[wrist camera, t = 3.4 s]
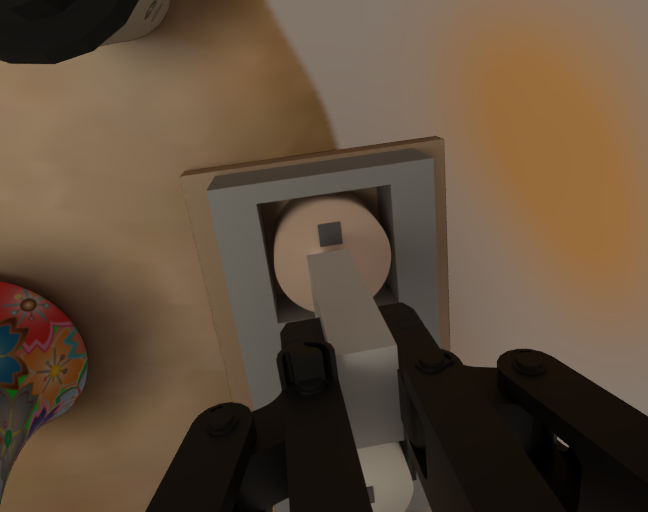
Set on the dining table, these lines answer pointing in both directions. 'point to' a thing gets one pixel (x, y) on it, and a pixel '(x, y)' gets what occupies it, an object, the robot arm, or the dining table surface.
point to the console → (258, 250)
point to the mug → (34, 369)
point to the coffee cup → (71, 27)
